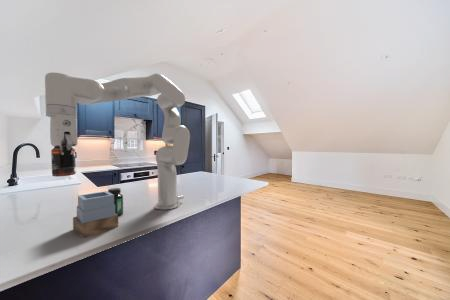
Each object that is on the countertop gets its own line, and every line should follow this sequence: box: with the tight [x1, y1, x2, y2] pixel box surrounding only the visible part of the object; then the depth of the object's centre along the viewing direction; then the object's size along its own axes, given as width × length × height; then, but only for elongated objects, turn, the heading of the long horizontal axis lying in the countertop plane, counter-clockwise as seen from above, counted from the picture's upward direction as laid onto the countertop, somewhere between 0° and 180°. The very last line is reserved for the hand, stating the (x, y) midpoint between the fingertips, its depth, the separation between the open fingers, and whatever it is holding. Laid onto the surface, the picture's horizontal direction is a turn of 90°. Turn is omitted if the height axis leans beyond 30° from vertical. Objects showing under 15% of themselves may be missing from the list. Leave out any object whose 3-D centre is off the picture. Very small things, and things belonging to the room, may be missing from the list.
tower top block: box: [76, 190, 115, 224], centre depth 68 cm, size 10×10×8 cm
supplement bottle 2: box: [107, 187, 124, 218], centre depth 81 cm, size 7×7×12 cm
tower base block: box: [72, 213, 119, 239], centre depth 68 cm, size 11×11×5 cm
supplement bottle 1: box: [50, 144, 77, 178], centre depth 59 cm, size 6×6×11 cm
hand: (63, 166), depth 59 cm, fingers closed on supplement bottle 1, 6 cm apart
